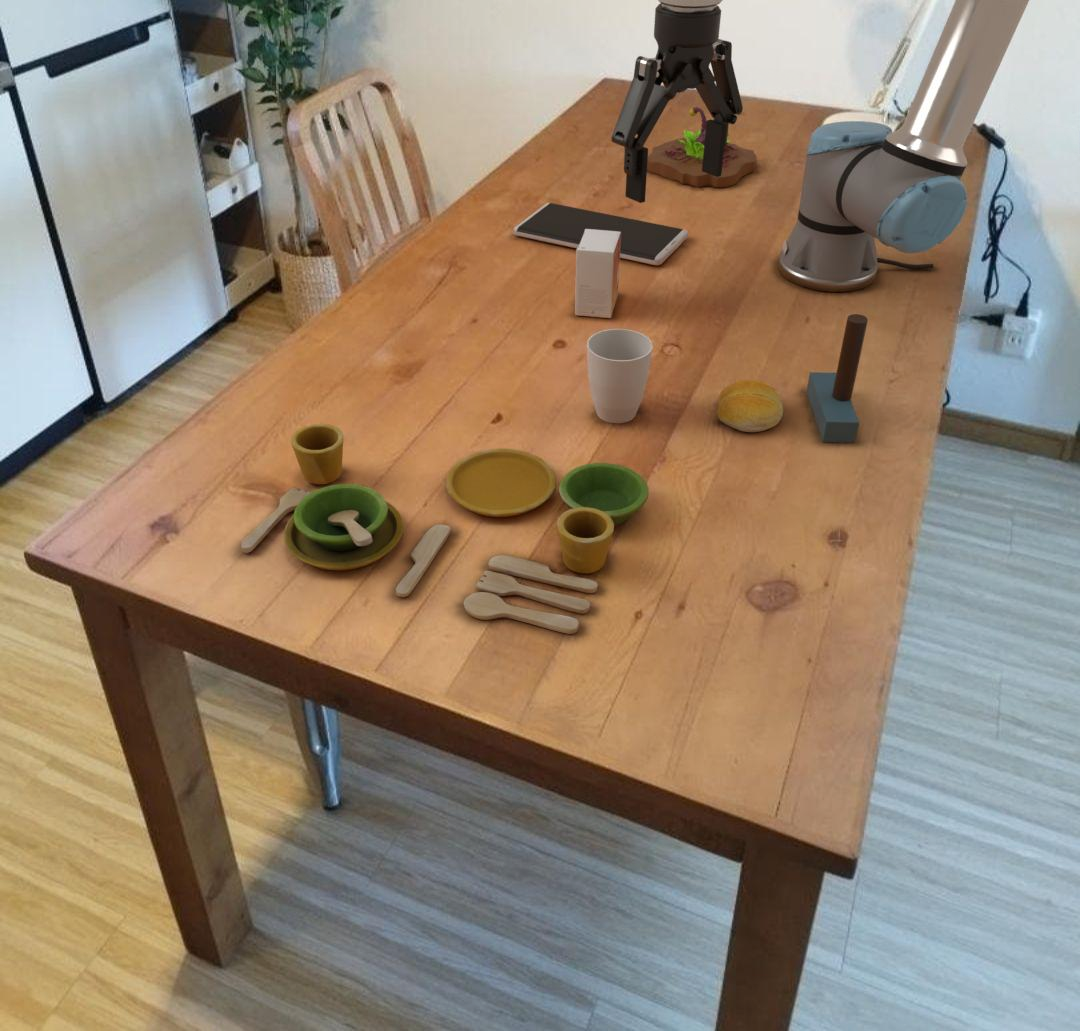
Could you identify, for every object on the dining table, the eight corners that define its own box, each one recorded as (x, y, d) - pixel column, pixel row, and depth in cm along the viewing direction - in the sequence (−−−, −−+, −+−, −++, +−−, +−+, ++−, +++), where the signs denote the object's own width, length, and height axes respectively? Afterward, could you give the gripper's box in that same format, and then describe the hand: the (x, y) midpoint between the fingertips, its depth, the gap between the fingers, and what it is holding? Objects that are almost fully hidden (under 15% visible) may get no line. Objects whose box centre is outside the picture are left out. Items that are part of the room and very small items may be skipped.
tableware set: (224, 553, 116) (213, 506, 112) (347, 422, 137) (341, 379, 133) (584, 648, 105) (586, 600, 101) (660, 489, 125) (664, 445, 121)
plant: (681, 142, 219) (686, 86, 212) (768, 163, 210) (776, 104, 203) (630, 171, 206) (633, 112, 199) (720, 194, 197) (726, 133, 190)
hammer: (837, 392, 143) (857, 296, 134) (856, 442, 133) (878, 342, 125) (806, 391, 143) (823, 295, 134) (822, 442, 133) (842, 342, 125)
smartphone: (547, 210, 191) (547, 200, 190) (689, 238, 182) (690, 228, 181) (511, 237, 182) (511, 227, 181) (659, 268, 172) (660, 258, 171)
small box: (611, 319, 159) (614, 253, 152) (574, 316, 160) (575, 249, 153) (619, 295, 165) (622, 230, 158) (583, 292, 166) (584, 227, 159)
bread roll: (715, 432, 135) (718, 405, 133) (719, 395, 142) (722, 368, 140) (782, 438, 134) (786, 411, 131) (782, 401, 141) (786, 374, 138)
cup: (654, 402, 140) (659, 334, 134) (638, 435, 134) (643, 365, 128) (595, 391, 143) (597, 324, 136) (576, 423, 137) (578, 354, 130)
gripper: (738, -17, 131) (720, 155, 144) (584, 15, 118) (580, 201, 131) (785, -6, 126) (762, 171, 139) (631, 28, 114) (622, 220, 127)
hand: (674, 186), depth 135 cm, fingers open, 13 cm apart
